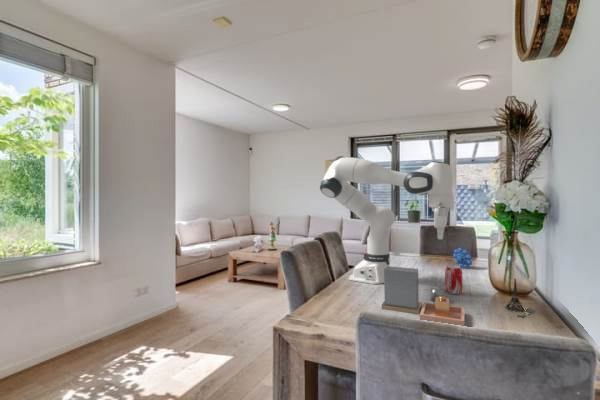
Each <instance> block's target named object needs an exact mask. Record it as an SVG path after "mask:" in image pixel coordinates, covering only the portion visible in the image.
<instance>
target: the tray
mask: <svg viewBox="0 0 600 400" xmlns="http://www.w3.org/2000/svg"><path fill="white" fill-rule="evenodd" d="M420 320H427V321H434V322H441V323H448V324H454V325H461V326H465V325H466V324H465V323H466V322H465V307H464V306H463V307H462V306H456V305H450V318H446V317H440V316H436V315H435V302H426V301H424V302H423V303H422V308H421V311H420V314H419V321H420Z"/></svg>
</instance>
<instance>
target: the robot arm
mask: <svg viewBox="0 0 600 400" xmlns="http://www.w3.org/2000/svg"><path fill="white" fill-rule="evenodd" d="M453 178H454V177H453V168H452V166H451V165H450V164H449V163H447V162H445V161H443V162H442V161H431V162H429V163H428V164H427V165H425V166H423V167H421V168H419V169H417V170H413V171H410V172H409V173H407V172H403V171H397V170H392V169H389V168H387V167H384V166H383V165H380V164H378V163H376V162H373V161H371V160H368V159H364V158H359V157H346V156H342V155H339V156H337V157H336V158H334V160H332V163H331V164H330V165H329V167H328V168H327V169H326V172H325V174H324V177H323V178H322V180H321V182H320V185H319V189H320V192H321V193H322V194H323V195H324V196H325V197H328V198H331V199H335V200H336V202H338V203H340V204H341V205H342V206H344V207H345V208H346V209H348V210H349V211H351V212H352V213H353V214H354V215H355V216H357V218H359V219H360V220H361V221H363V222H364V223H365V224H366V225H368V226H369V227H370V229H369V234H368V236H367V239H366V245H367V246H366V247H367V248H366V252H364V254H363V260H362V261H360V262H358V264H356V265H355V266H354V269H353V273H351V274H350V275H349V276H348V280H349V281H352V282H353V281H354V282H358V283H364V284H370V285H379V284H380V285H381V284H384V269H385V268H386V267H387V266H390V267H391V265H390V264H391V255H390V247H389V244H390V242H389V241H390V240H389V239H390V233H391V230H392V226H393V225H394V224H395V220H396V215H395V213H394V212H393V210H392V209H390V208H388V207H386V206H379V205H376V204H375V203H373V202H372V201H371V199H369V197H368V196H367V195H366V194H364V192H362V191H360V189H357V188H356V187H355V186H353V185H352V184H350V183H349V182H351V183H356V184H361V185H379V184H385V185H386V184H387V185H392V186H397V187H402V188H404V189H405V191H406V192H407V193H409V194H411V195H419V196H425V195H428V208H431V211H432V212H434V213H433V214H434V216H433V219H434V220H433V222H434V223H433V225H434V228H435V229H436V232H437V234H436V235H437V239H438V240H443V239H444V236H445V228H446V225H447V223H448V215H449V212H450V208H453V207H454V193H453V185H454V179H453Z"/></svg>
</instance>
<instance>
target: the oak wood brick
mask: <svg viewBox="0 0 600 400" xmlns="http://www.w3.org/2000/svg"><path fill="white" fill-rule="evenodd" d="M450 299H451V298H449V297H448V298H447V297H446V296H445V295H444V296H439V297H436V300H435V302H434V304H435V315H436V316H440V317H446V318H450V306H451V304H450V302H451V301H450Z"/></svg>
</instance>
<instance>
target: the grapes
mask: <svg viewBox="0 0 600 400" xmlns="http://www.w3.org/2000/svg"><path fill="white" fill-rule="evenodd" d="M453 252H454V253H453V255H452V256H453V259H455V264H456V265H458V266H460V267H461V269H464V268H465V269H469V268H470V266H471V265H472V264H473V262H472V256H471V255H470V254H469V252H468V250H467V249H463V248H462V247H458V248H455V249H454V251H453Z"/></svg>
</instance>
